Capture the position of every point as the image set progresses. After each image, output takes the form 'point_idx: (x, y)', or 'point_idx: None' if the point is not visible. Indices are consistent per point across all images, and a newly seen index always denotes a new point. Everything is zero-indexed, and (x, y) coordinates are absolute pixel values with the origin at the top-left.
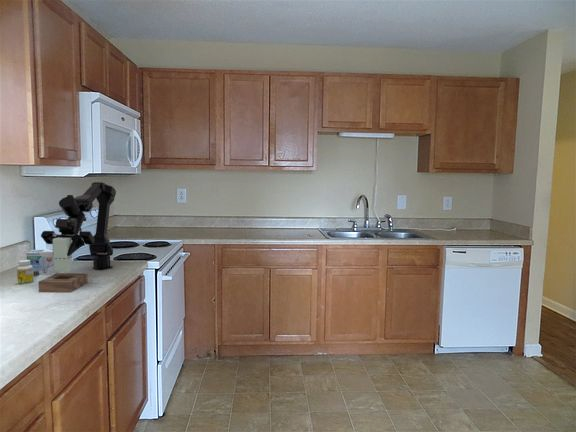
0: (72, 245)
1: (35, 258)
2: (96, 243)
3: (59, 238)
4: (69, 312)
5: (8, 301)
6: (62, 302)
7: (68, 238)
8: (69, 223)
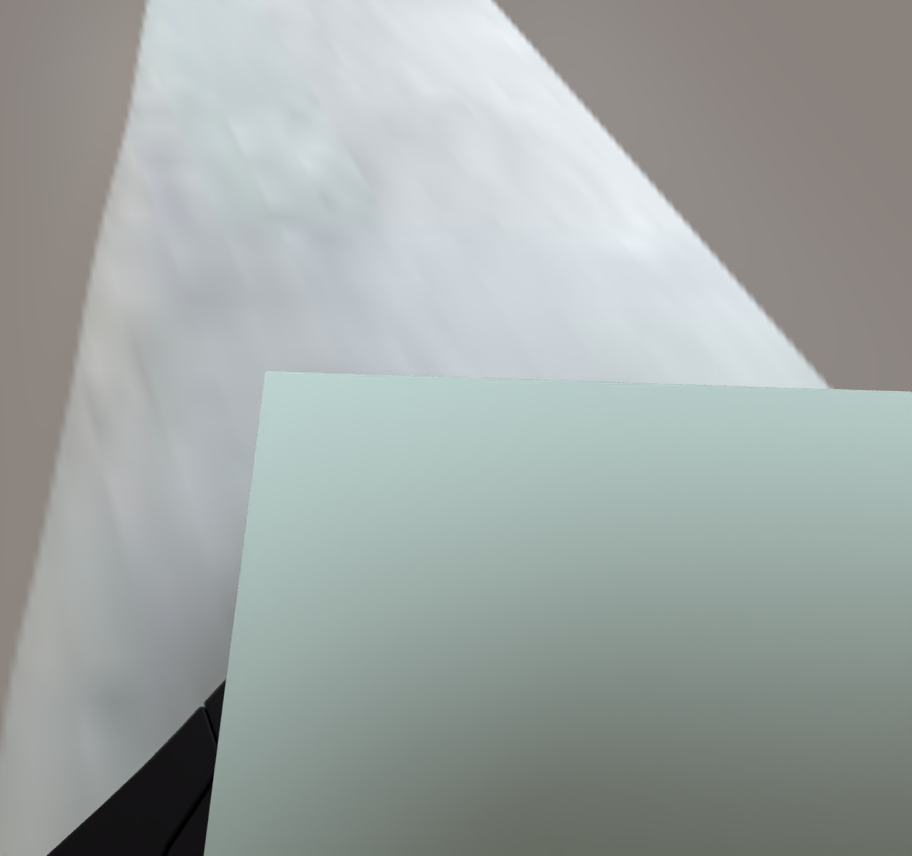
0: (195, 758)
1: None
2: None
3: (904, 659)
4: (176, 79)
5: (707, 280)
6: (305, 252)
7: (218, 782)
8: None
